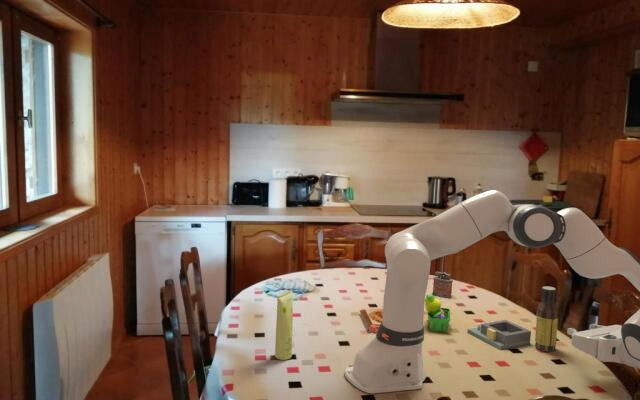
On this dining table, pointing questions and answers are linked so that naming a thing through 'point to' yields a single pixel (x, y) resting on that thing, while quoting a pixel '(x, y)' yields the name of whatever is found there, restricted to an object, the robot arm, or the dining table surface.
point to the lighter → (442, 285)
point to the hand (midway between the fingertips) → (580, 328)
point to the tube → (284, 327)
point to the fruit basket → (437, 314)
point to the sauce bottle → (546, 321)
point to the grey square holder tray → (495, 343)
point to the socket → (495, 333)
